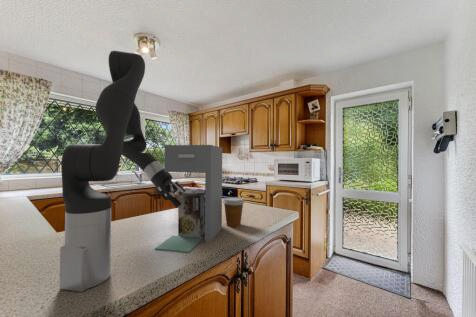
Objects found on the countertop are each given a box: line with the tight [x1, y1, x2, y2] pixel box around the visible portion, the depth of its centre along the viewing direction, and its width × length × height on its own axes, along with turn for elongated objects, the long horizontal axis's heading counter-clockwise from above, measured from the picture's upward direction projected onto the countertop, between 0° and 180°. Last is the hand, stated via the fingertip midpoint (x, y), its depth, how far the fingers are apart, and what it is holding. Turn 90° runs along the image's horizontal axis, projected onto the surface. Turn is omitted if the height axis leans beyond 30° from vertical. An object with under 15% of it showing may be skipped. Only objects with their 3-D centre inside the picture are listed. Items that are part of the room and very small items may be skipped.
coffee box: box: [177, 193, 205, 238], centre depth 84 cm, size 9×6×16 cm
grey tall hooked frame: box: [164, 144, 223, 244], centre depth 84 cm, size 17×18×35 cm
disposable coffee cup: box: [222, 196, 245, 228], centre depth 96 cm, size 10×10×12 cm
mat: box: [154, 235, 203, 253], centre depth 74 cm, size 12×12×1 cm
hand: (183, 203), depth 85 cm, fingers open, 8 cm apart
